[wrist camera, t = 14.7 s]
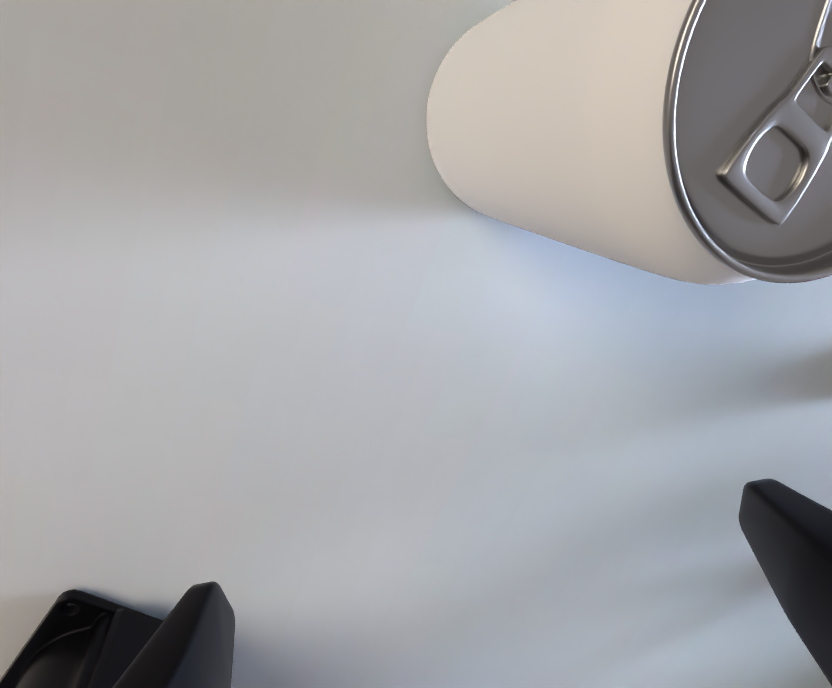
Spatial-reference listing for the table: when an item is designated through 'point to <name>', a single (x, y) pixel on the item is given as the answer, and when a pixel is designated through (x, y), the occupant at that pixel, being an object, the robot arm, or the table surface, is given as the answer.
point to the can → (649, 131)
